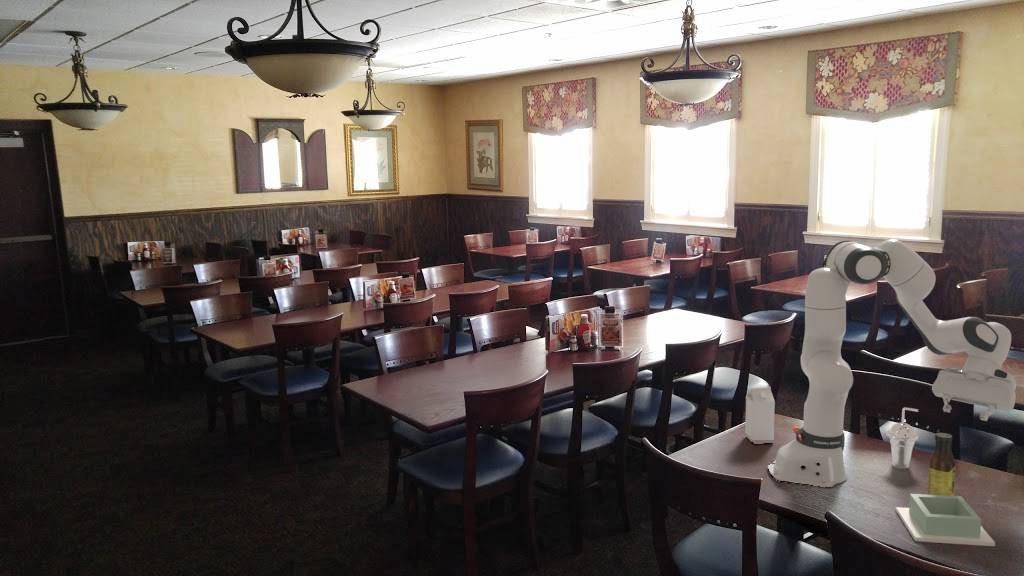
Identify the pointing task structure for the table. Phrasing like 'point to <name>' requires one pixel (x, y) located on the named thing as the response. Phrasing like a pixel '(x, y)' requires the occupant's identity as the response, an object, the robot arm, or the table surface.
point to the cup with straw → (902, 442)
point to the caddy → (943, 520)
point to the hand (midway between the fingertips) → (964, 415)
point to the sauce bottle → (942, 467)
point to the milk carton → (760, 414)
